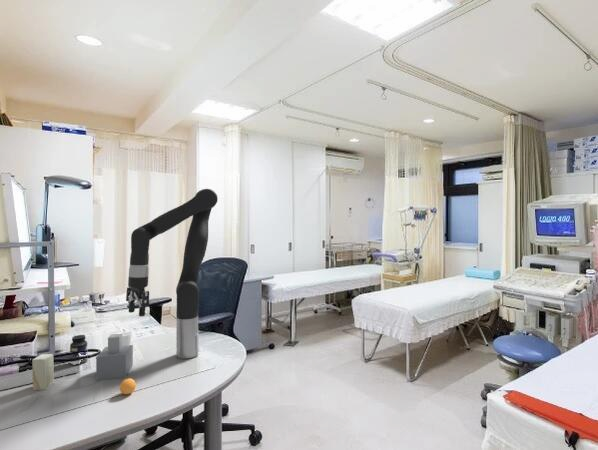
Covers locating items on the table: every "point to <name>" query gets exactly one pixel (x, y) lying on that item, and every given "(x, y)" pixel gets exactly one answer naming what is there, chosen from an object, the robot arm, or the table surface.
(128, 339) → the cup
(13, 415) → the table surface
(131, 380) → the ball
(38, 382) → the box
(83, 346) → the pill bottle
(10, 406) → the table surface
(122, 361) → the grey stepped block
